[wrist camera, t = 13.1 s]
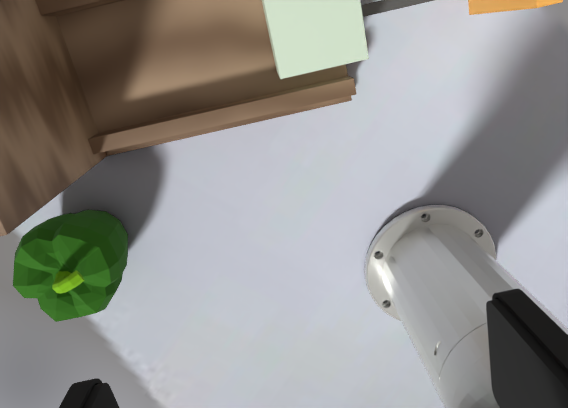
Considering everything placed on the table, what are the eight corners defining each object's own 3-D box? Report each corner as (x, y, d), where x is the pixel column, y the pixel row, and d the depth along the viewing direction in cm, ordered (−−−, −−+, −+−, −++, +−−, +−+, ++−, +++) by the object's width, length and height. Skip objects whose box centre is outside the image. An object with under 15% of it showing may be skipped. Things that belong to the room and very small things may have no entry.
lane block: (486, 24, 35) (562, 20, 27) (277, 72, 36) (282, 84, 27) (481, -62, 33) (562, -98, 24) (259, -10, 34) (259, -26, 25)
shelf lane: (348, 98, 39) (414, 143, 22) (99, 154, 39) (-16, 239, 23) (320, -74, 34) (376, -176, 18) (38, -7, 35) (-158, -46, 18)
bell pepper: (66, 284, 43) (13, 353, 34) (36, 205, 41) (-31, 256, 31) (153, 270, 43) (123, 334, 34) (128, 189, 41) (89, 235, 31)
